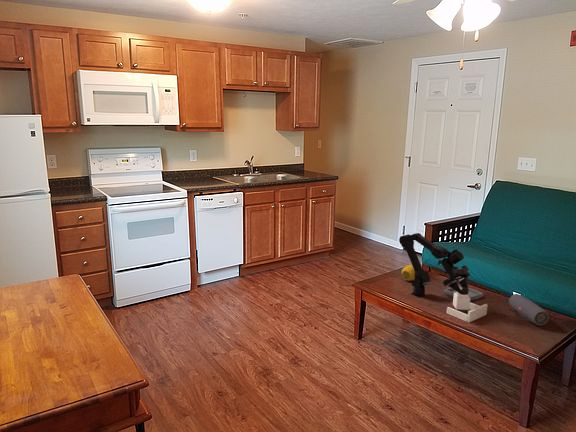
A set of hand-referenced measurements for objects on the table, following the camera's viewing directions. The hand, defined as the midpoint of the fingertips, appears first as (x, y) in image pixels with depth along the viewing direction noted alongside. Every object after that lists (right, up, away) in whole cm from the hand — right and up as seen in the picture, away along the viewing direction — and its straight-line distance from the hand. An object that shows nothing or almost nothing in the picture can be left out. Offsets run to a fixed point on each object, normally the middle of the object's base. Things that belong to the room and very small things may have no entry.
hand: (464, 292), depth 241 cm
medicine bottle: (-1, -9, +3) cm, 10 cm away
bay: (+1, -12, +1) cm, 12 cm away
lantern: (-16, -1, +52) cm, 54 cm away
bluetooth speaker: (+33, -14, -3) cm, 36 cm away
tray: (+10, -6, +27) cm, 29 cm away
